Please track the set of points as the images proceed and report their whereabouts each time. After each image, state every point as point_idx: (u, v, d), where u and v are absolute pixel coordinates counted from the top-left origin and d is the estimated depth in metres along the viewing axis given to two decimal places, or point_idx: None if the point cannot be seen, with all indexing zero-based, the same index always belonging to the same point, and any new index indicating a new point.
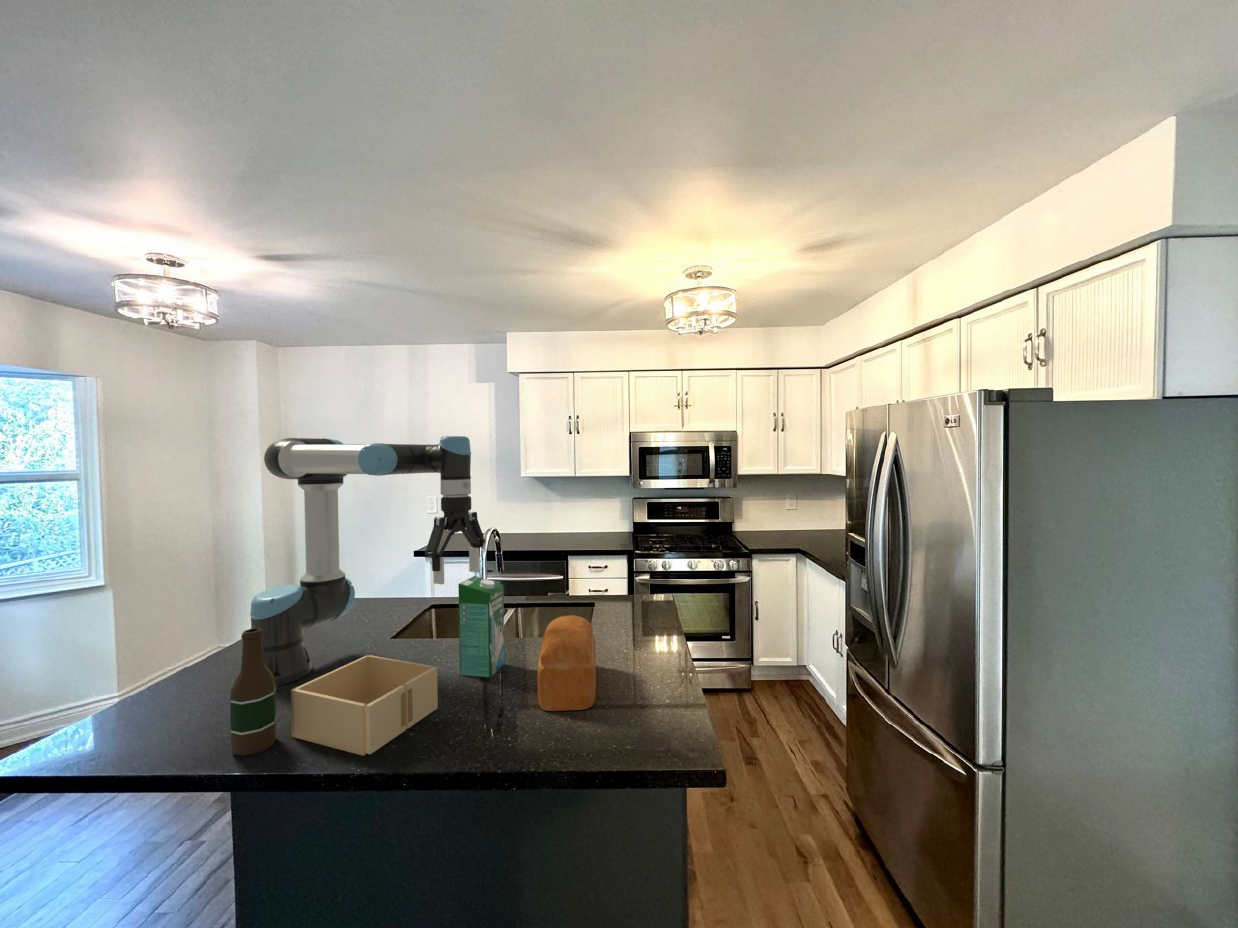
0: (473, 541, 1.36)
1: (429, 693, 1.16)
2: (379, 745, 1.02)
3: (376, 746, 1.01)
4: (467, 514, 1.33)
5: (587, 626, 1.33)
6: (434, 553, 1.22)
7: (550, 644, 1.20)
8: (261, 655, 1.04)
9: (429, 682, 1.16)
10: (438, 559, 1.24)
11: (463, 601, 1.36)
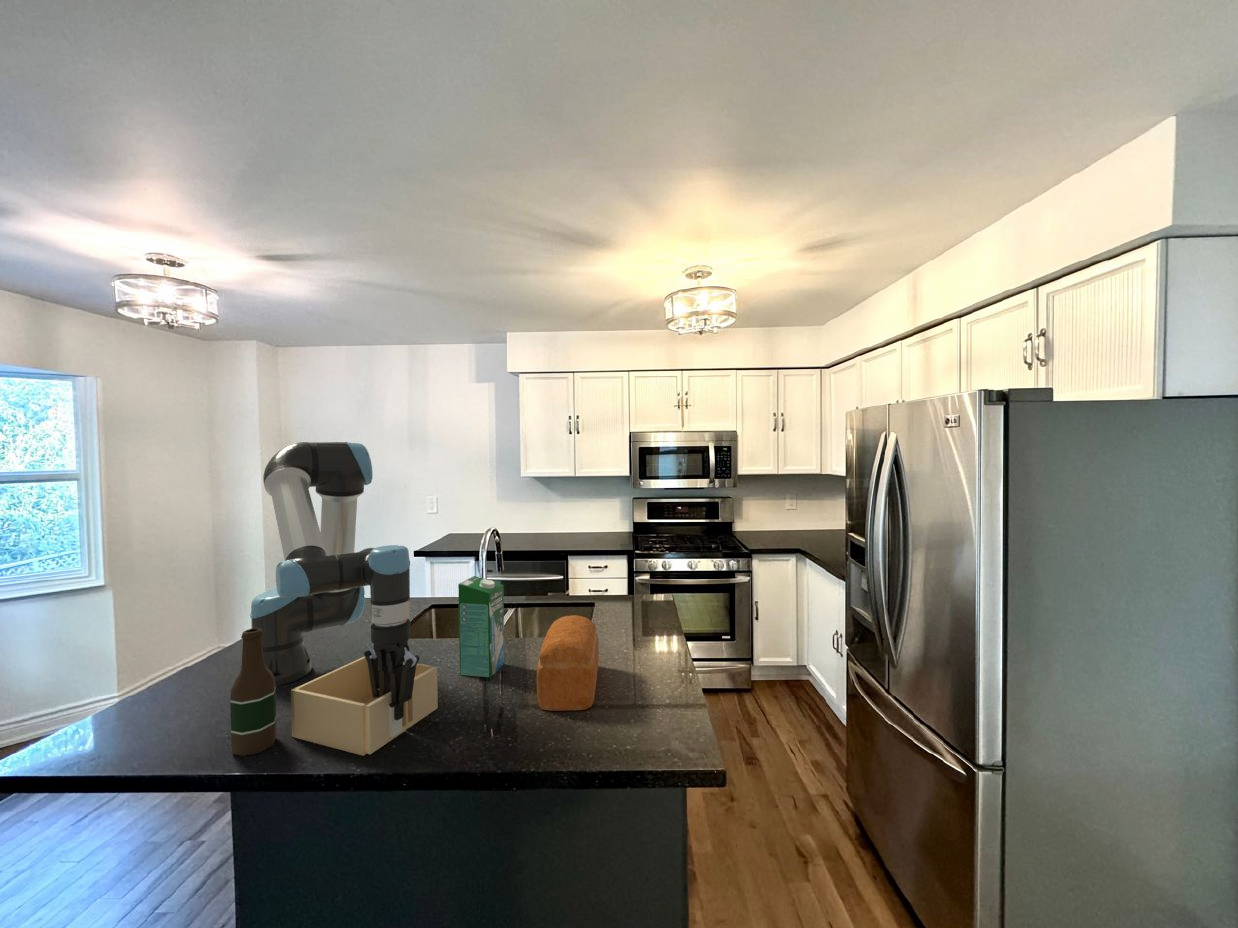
0: None
1: (429, 693, 1.16)
2: (379, 745, 1.02)
3: (376, 746, 1.01)
4: (399, 650, 1.03)
5: (589, 626, 1.33)
6: (374, 694, 1.06)
7: (549, 644, 1.20)
8: (261, 655, 1.04)
9: (429, 682, 1.16)
10: None
11: (463, 601, 1.36)
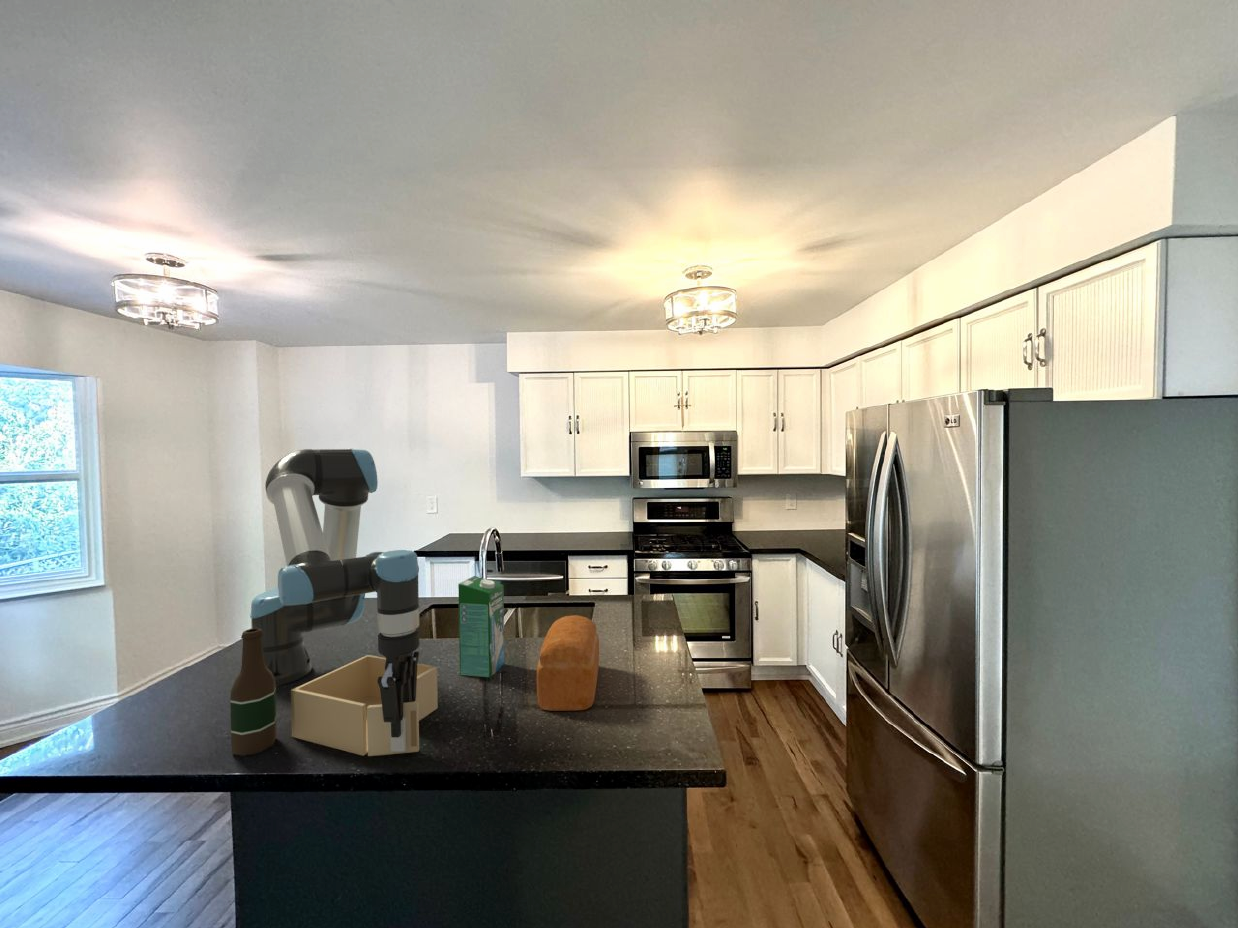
0: None
1: (429, 693, 1.16)
2: (380, 752, 1.00)
3: (376, 751, 1.00)
4: None
5: (590, 626, 1.33)
6: None
7: (549, 644, 1.20)
8: (261, 655, 1.04)
9: (429, 682, 1.16)
10: None
11: (463, 601, 1.36)
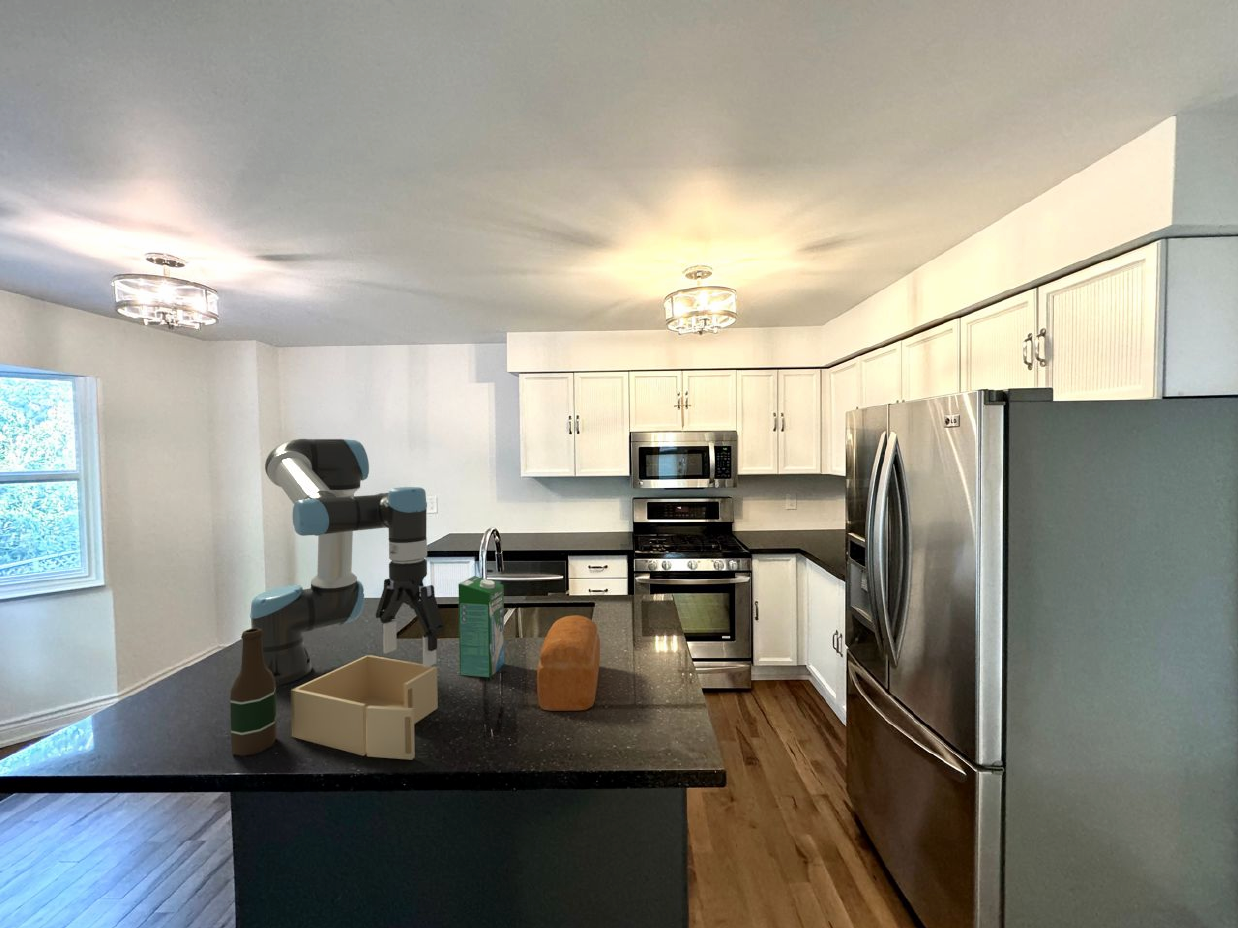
0: None
1: (429, 693, 1.16)
2: (377, 754, 0.99)
3: (374, 753, 0.99)
4: (412, 586, 1.06)
5: (590, 626, 1.33)
6: (377, 614, 1.12)
7: (550, 644, 1.20)
8: (261, 655, 1.04)
9: (429, 682, 1.16)
10: None
11: (463, 601, 1.36)
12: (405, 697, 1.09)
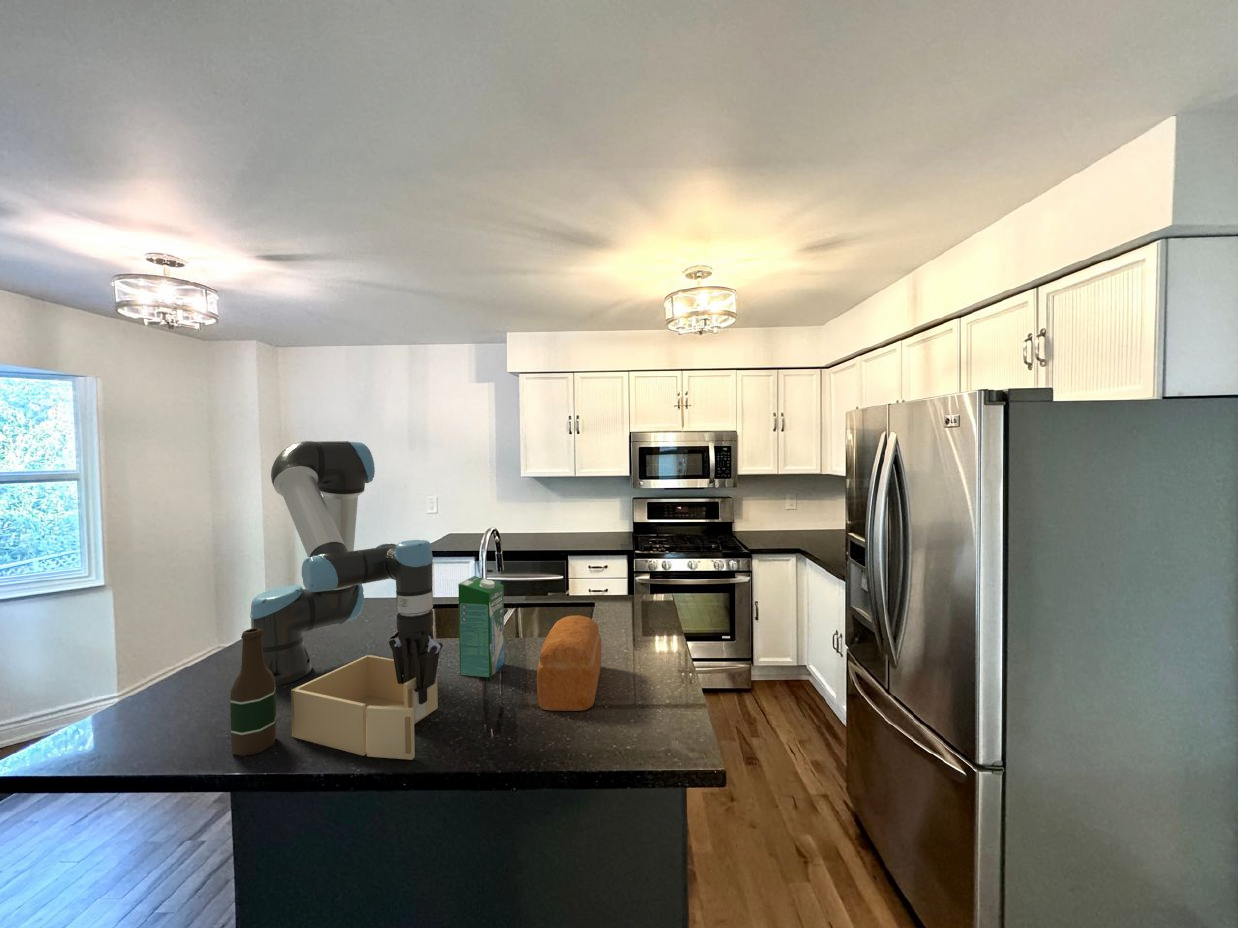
0: None
1: (429, 693, 1.16)
2: (377, 754, 0.99)
3: (374, 753, 0.99)
4: (424, 637, 1.10)
5: (591, 627, 1.33)
6: (398, 680, 1.12)
7: (550, 643, 1.20)
8: (261, 655, 1.04)
9: None
10: None
11: (463, 601, 1.36)
12: (405, 697, 1.09)
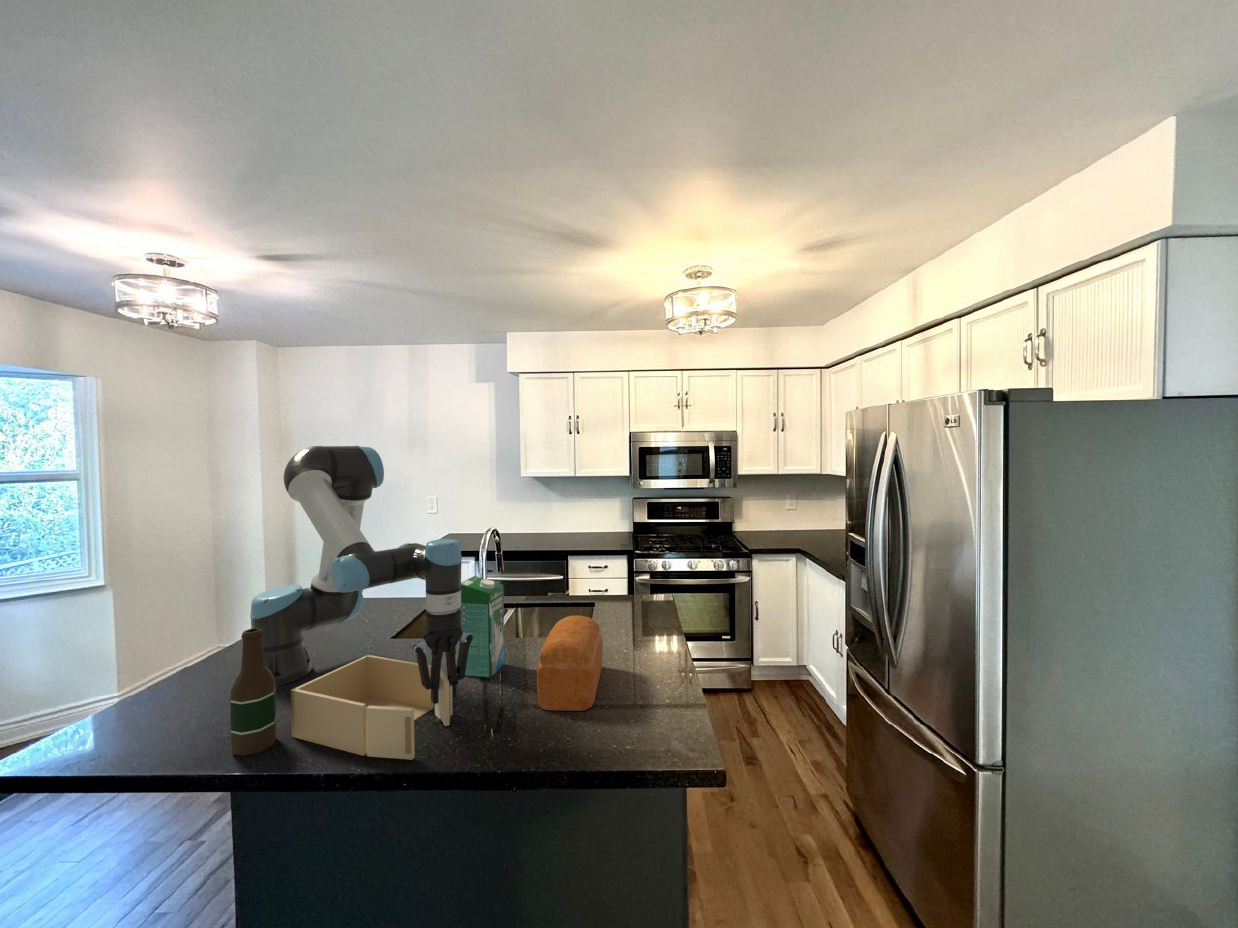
0: (450, 672, 1.13)
1: None
2: (377, 754, 0.99)
3: (374, 753, 0.99)
4: (460, 631, 1.14)
5: (592, 627, 1.33)
6: (427, 685, 1.10)
7: (550, 643, 1.20)
8: (261, 655, 1.04)
9: None
10: (438, 688, 1.12)
11: (463, 601, 1.36)
12: (446, 695, 1.10)
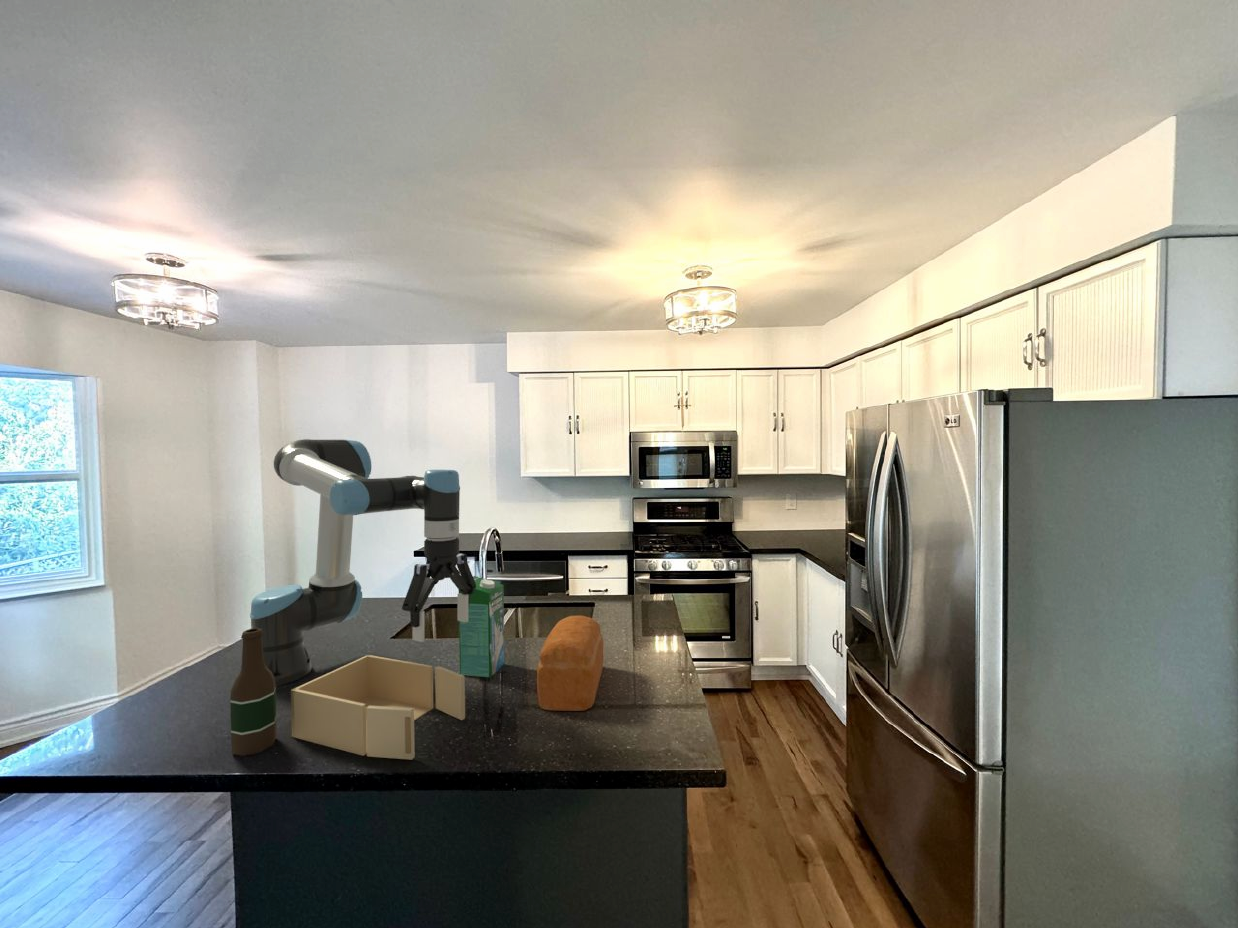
0: (462, 587, 1.20)
1: None
2: (377, 754, 0.99)
3: (374, 753, 0.99)
4: (455, 558, 1.17)
5: (593, 627, 1.33)
6: (412, 607, 1.06)
7: (550, 643, 1.20)
8: (261, 655, 1.04)
9: None
10: (417, 613, 1.08)
11: None
12: (462, 689, 1.13)
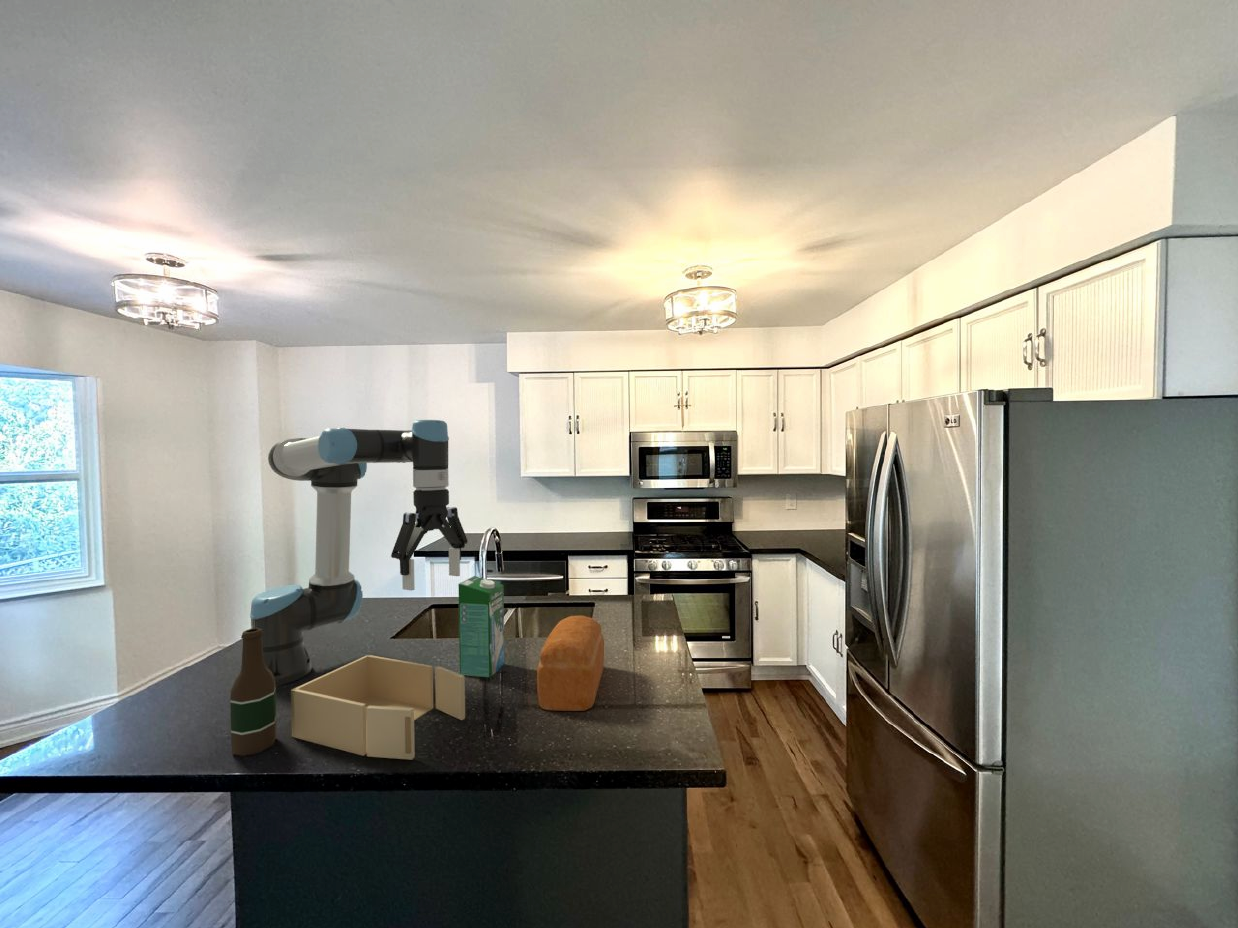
0: (453, 541, 1.19)
1: None
2: (377, 754, 0.99)
3: (374, 753, 0.99)
4: (445, 510, 1.16)
5: (593, 627, 1.33)
6: (401, 554, 1.05)
7: (550, 643, 1.20)
8: (261, 655, 1.04)
9: None
10: (407, 561, 1.07)
11: (463, 601, 1.36)
12: (462, 689, 1.13)
